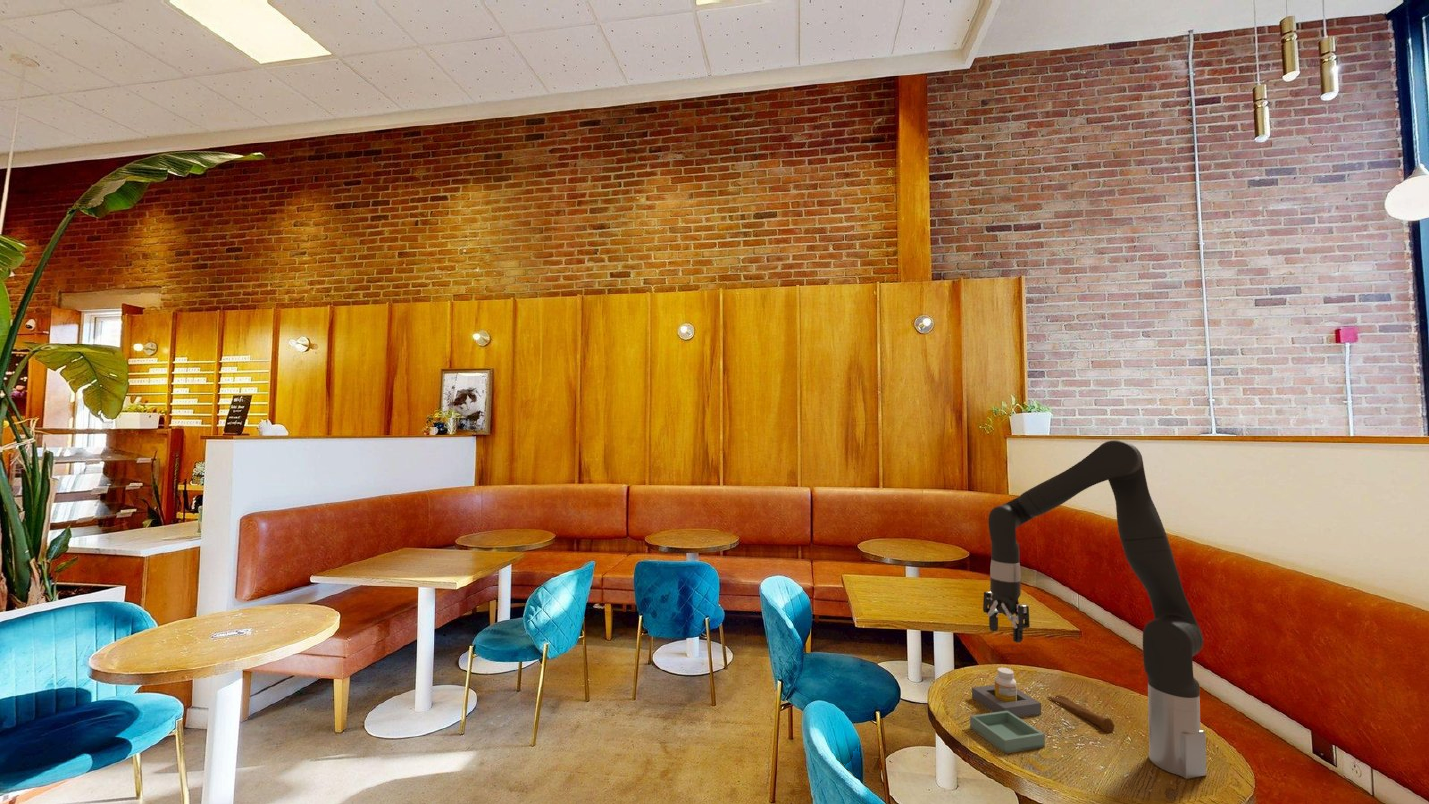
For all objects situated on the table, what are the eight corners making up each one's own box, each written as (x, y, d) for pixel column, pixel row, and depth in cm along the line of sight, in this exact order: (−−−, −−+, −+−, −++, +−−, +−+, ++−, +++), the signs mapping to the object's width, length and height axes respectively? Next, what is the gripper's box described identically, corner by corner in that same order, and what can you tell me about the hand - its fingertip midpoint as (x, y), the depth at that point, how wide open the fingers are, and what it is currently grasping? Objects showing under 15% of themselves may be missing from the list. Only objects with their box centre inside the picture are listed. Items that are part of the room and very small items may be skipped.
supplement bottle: (997, 699, 157) (997, 664, 158) (1018, 705, 154) (1018, 670, 154) (992, 706, 153) (992, 670, 154) (1014, 713, 150) (1014, 676, 150)
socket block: (1041, 714, 149) (1041, 703, 149) (1004, 719, 146) (1004, 708, 146) (1006, 693, 161) (1006, 683, 161) (971, 698, 158) (971, 687, 158)
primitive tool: (1044, 698, 159) (1044, 686, 159) (1060, 697, 160) (1060, 685, 161) (1104, 735, 140) (1104, 721, 141) (1122, 733, 142) (1122, 719, 142)
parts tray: (1044, 747, 134) (1044, 734, 134) (1005, 753, 131) (1005, 740, 131) (1007, 722, 145) (1007, 710, 145) (970, 727, 142) (970, 715, 142)
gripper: (1037, 583, 149) (1037, 644, 149) (997, 570, 163) (997, 626, 162) (1014, 585, 147) (1014, 647, 147) (975, 571, 161) (975, 628, 160)
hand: (1005, 636), depth 154 cm, fingers open, 8 cm apart
